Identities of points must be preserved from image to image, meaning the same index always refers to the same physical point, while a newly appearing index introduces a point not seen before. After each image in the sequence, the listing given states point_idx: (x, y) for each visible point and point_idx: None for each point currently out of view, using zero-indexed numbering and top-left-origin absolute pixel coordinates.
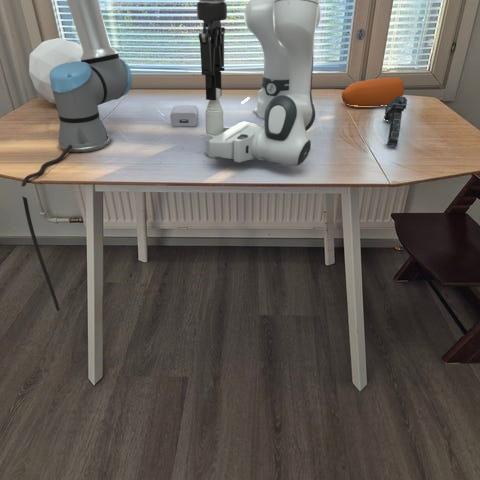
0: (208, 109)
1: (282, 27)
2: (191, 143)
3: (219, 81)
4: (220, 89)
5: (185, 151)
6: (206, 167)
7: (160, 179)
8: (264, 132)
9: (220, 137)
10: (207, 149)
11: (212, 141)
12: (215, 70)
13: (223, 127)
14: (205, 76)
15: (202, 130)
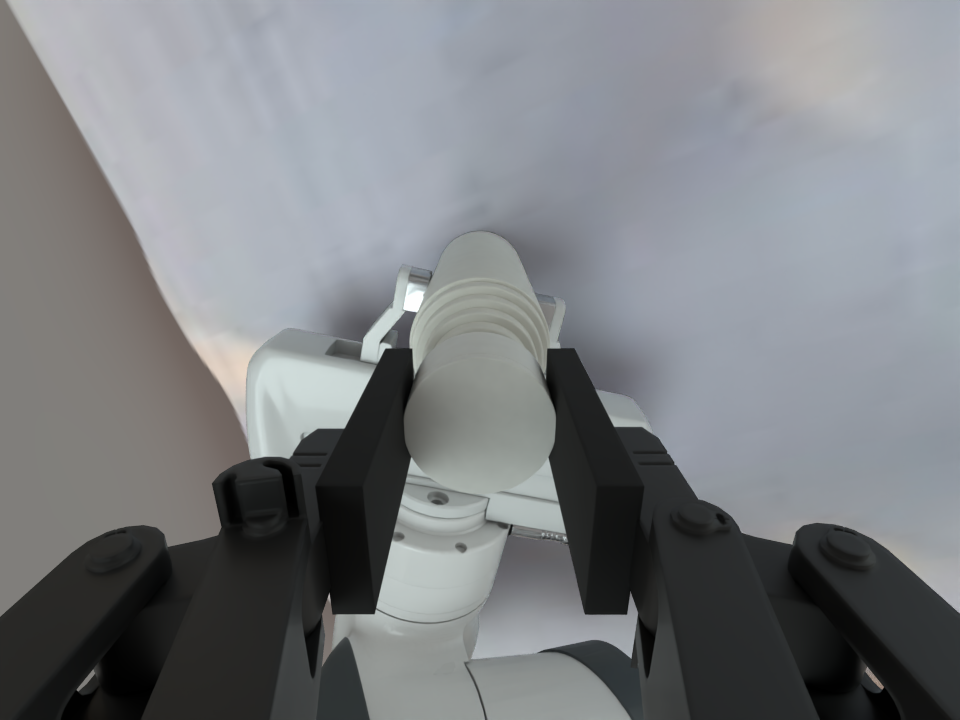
0: (424, 327)
1: None
2: (592, 79)
3: (564, 512)
4: (508, 488)
5: (464, 96)
6: (319, 287)
7: (95, 123)
8: (371, 630)
9: (331, 398)
10: (447, 248)
11: (247, 380)
12: (640, 544)
13: (551, 338)
14: (321, 474)
15: (833, 56)
